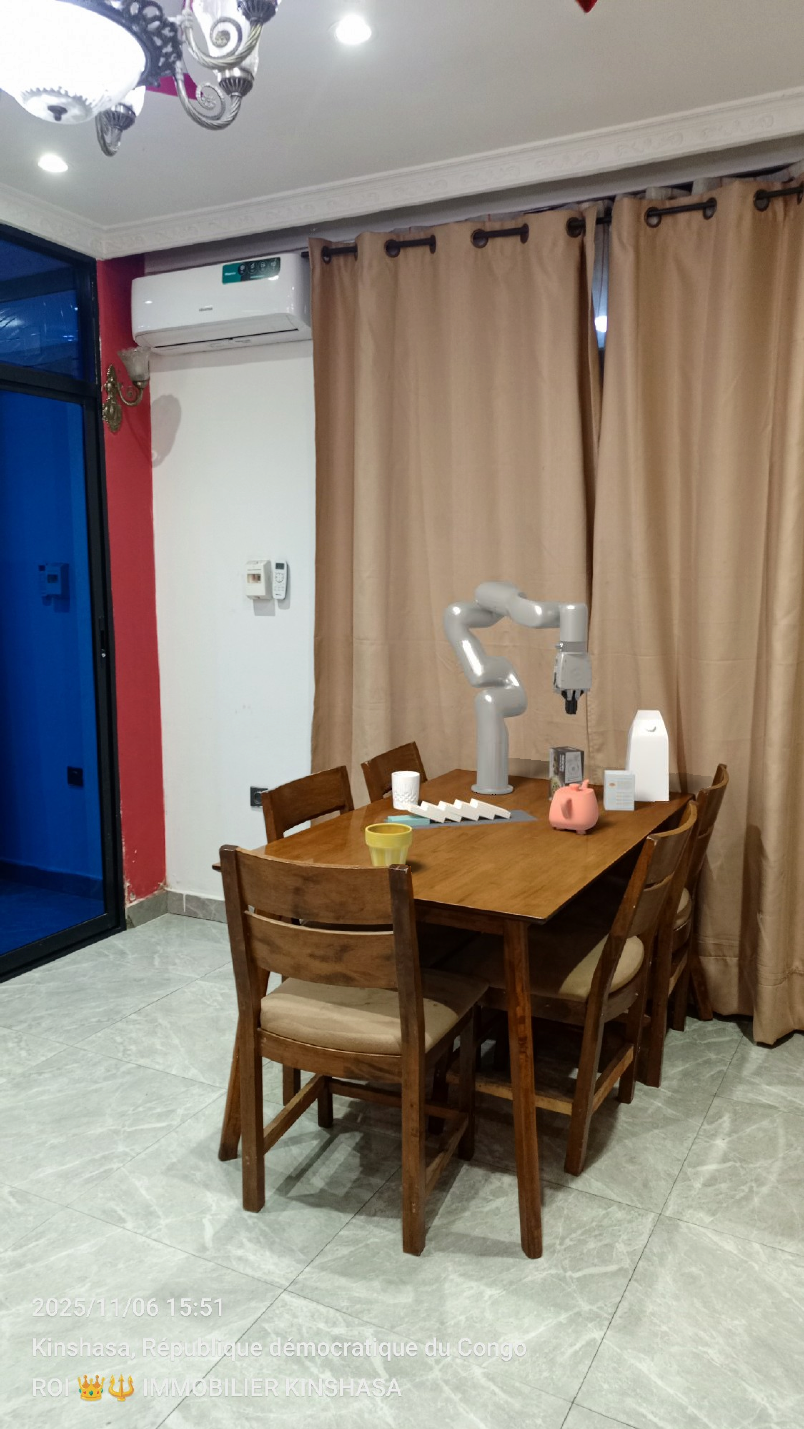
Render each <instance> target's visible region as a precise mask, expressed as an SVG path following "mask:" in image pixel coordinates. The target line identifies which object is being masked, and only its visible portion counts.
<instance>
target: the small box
mask: <svg viewBox="0 0 804 1429" xmlns="http://www.w3.org/2000/svg"><path fill="white" fill-rule="evenodd" d="M603 773H604V774H603V775H604V776H603V808H604V809H605V811H620V812H621V811H625V812H626V811H627V812H630V811H631V812H634V811H635V801H634V788H635V774H634V773H633V772H632V771H625V770H622V769H621V770H619V769H618V770H615V769H614V770H610V769H607V770H606V769H604V772H603Z"/></svg>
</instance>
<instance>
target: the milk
mask: <svg viewBox="0 0 804 1429" xmlns="http://www.w3.org/2000/svg"><path fill="white" fill-rule="evenodd" d="M669 742H670V741H669V736H668V732H667V729H666V725H665V722H664V718H663V716H662V715H661V712H660V710H659V709H658V710H655V709H653V710H652V709H638V710H637V712H636V714H635V716H634V719H633V720H632V723H631V724H630V727H629V730H628V733H627V743H626V744H627V745H626V754H625V755H626V756H625V766H624V771H632V772H633V773H634V774H635V788H634V802H655V801H669V802H670V799H669V798H670V795H669V793H670V792H669V790H670V789H669V788H670V785H669V783H670V781H669V780H670V779H669V778H670V776H669V775H670V774H669V770H670V769H669V768H670V767H669V766H670V764H669V763H670V762H669V760H670V757H669V756H670V755H669V751H670V750H669V749H670V748H669V747H670V746H669Z"/></svg>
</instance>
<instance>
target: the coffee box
mask: <svg viewBox="0 0 804 1429" xmlns="http://www.w3.org/2000/svg"><path fill="white" fill-rule="evenodd" d="M584 765H585V750H582V749H578V748H576V747H572V746H555V747H549V765H548V766H549V773H548V774H549V777H548V778H549V780H548V782H549V783H548V785H549V786H548V787H549V788H548V801H550V802H552V800H553V797H554V794H555V792H556V791H557V790H558V789H560V788H562V787H565V786H569V784H572V783H575V784H580V787H581V786H582V783H583V781H584V774H585V773H584V771H585V770H584V769H585V766H584Z"/></svg>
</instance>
